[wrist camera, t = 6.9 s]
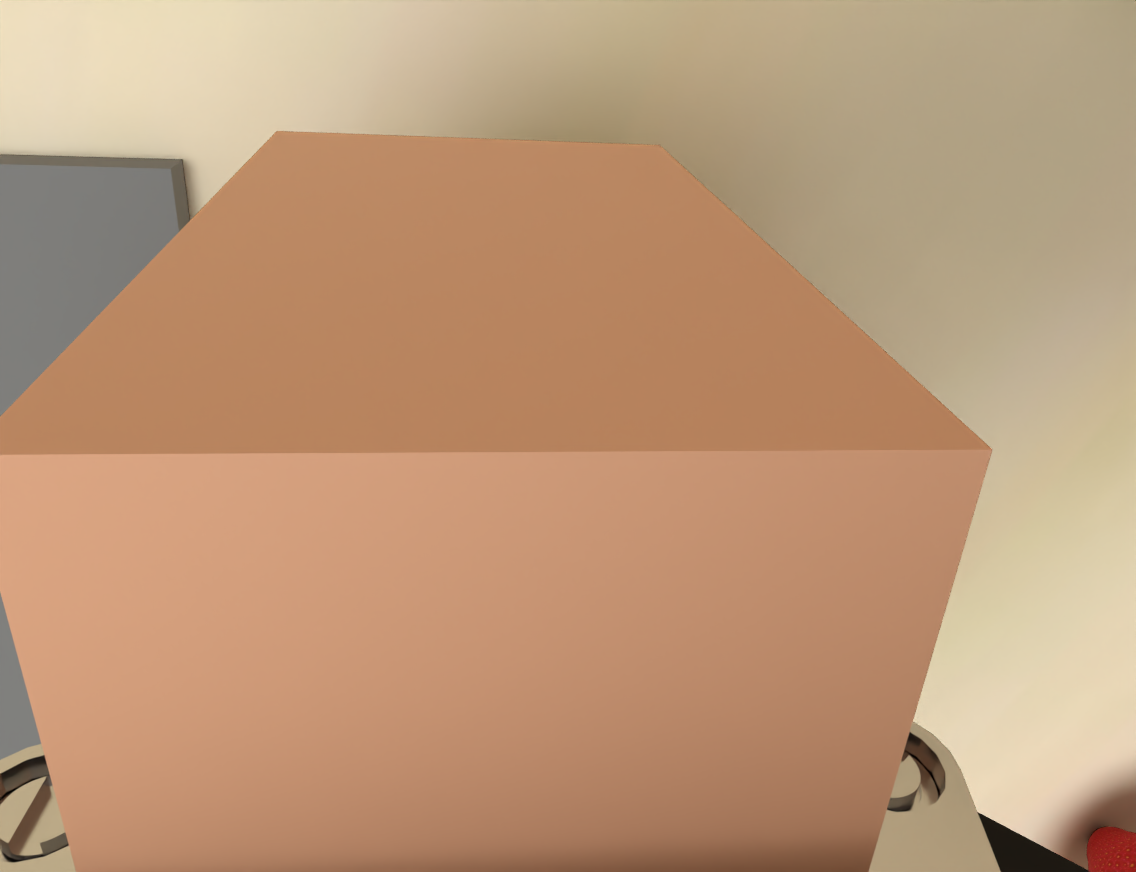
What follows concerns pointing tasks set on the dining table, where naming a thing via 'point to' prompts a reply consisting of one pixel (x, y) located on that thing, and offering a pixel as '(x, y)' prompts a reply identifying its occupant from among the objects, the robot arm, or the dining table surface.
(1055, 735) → the dining table surface
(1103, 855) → the strawberry
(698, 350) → the card box
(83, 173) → the mat
